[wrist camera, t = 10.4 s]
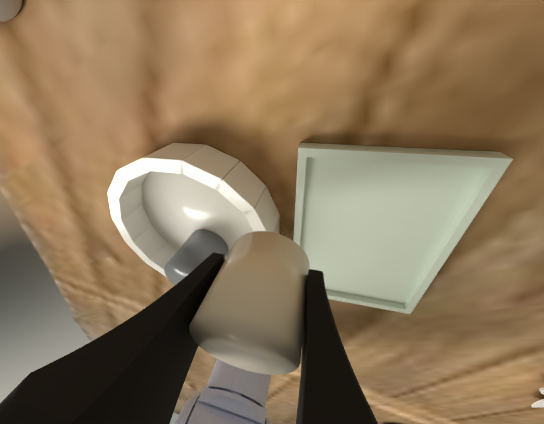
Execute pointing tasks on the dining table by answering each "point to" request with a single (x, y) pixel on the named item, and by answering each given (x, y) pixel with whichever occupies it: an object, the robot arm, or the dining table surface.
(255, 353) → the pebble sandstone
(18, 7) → the cup
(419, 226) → the parts tray
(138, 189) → the bowl
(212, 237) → the grey short cylinder
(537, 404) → the lotus flower
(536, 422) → the dining table surface
